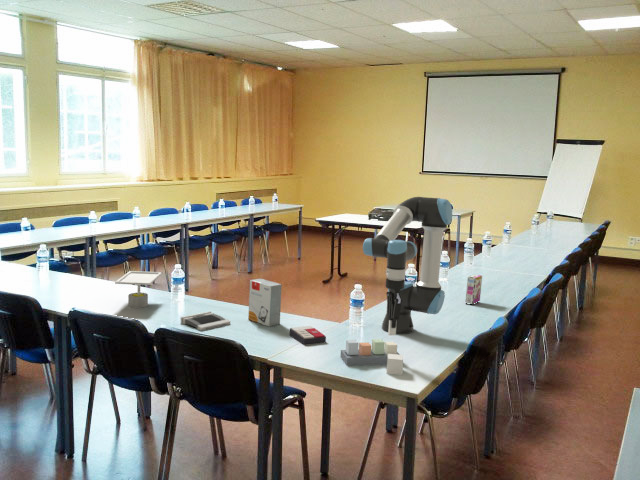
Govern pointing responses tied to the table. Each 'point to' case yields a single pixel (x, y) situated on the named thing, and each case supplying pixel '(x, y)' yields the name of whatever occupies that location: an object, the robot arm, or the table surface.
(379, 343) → the key green
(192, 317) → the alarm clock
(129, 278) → the solar panel model
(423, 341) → the table surface
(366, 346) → the key terracotta
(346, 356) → the key panel
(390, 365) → the pale grey cube
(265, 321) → the hard drive box
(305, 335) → the calculator
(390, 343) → the key ivory
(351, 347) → the key bluegrey
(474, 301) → the candy bar box
